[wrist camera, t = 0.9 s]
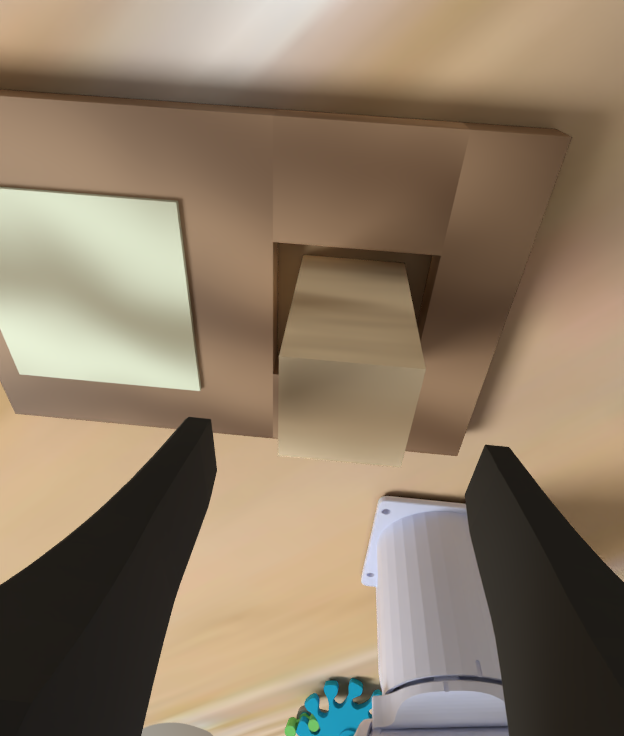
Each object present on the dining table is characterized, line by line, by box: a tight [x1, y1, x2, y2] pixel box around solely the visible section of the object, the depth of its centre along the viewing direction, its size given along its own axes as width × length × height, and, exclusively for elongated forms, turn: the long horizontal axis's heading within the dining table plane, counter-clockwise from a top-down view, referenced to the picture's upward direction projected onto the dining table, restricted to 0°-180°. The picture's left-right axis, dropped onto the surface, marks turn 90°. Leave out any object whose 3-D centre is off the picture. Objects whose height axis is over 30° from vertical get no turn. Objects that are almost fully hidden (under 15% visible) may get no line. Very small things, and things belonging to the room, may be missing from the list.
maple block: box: [278, 255, 426, 468], centre depth 16 cm, size 4×4×7 cm
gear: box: [285, 678, 382, 736], centre depth 44 cm, size 11×6×10 cm
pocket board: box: [0, 89, 572, 456], centre depth 19 cm, size 14×22×2 cm, turn 87°
